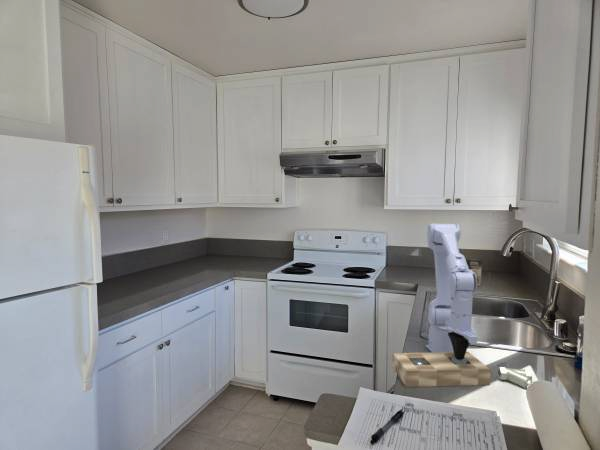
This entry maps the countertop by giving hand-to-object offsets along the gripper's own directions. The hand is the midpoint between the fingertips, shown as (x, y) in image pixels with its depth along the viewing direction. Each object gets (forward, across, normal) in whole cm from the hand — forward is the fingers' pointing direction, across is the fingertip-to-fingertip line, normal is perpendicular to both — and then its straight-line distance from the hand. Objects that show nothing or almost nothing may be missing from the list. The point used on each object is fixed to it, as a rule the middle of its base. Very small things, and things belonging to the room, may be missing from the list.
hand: (459, 358), depth 109 cm
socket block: (+5, 0, -6) cm, 8 cm away
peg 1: (+5, 0, -12) cm, 13 cm away
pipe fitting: (+6, +5, +14) cm, 16 cm away
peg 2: (+4, 0, 0) cm, 4 cm away
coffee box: (+5, -114, +67) cm, 132 cm away
